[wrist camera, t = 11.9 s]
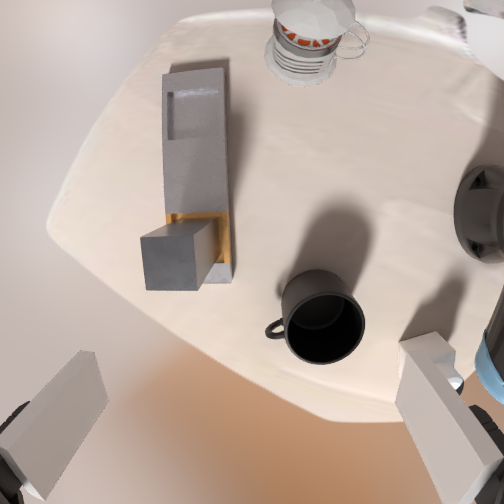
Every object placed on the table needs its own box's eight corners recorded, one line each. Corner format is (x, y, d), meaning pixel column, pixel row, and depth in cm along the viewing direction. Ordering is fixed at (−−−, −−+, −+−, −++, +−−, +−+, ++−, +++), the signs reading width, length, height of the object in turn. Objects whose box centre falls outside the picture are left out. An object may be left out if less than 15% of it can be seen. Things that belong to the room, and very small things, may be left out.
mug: (254, 287, 43) (250, 315, 34) (338, 259, 42) (355, 279, 33) (275, 345, 45) (277, 380, 36) (354, 319, 44) (372, 349, 35)
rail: (224, 72, 37) (222, 67, 35) (232, 278, 43) (231, 283, 41) (166, 78, 37) (162, 74, 35) (175, 279, 43) (171, 283, 41)
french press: (277, 17, 35) (283, -110, 10) (356, 45, 35) (431, -60, 11) (254, 73, 37) (237, -44, 12) (338, 102, 37) (420, 18, 13)
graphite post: (218, 216, 41) (193, 235, 27) (220, 254, 42) (197, 290, 28) (180, 218, 41) (140, 237, 27) (183, 255, 42) (146, 290, 28)
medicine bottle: (433, 365, 45) (464, 405, 33) (397, 376, 46) (423, 421, 34) (436, 329, 43) (472, 367, 32) (397, 341, 44) (428, 384, 32)
